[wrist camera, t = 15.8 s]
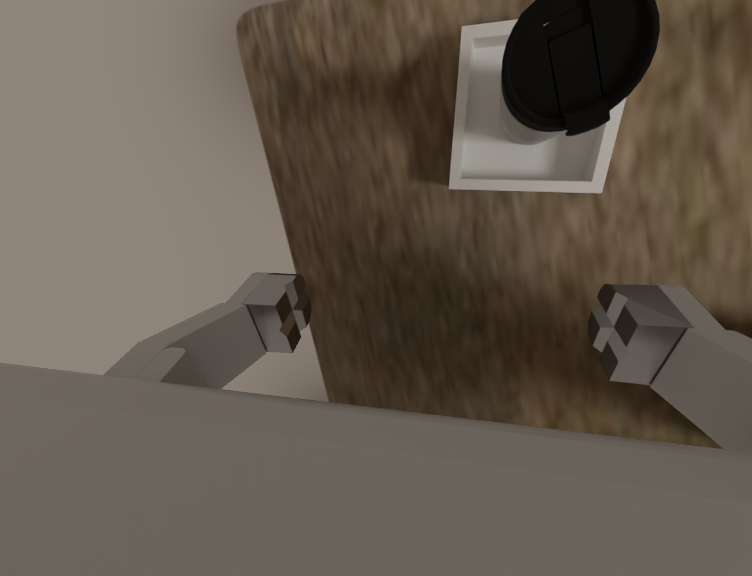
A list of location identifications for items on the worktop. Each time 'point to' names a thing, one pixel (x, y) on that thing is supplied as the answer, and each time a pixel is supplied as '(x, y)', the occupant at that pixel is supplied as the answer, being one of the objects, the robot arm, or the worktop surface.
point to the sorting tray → (496, 150)
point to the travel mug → (573, 65)
